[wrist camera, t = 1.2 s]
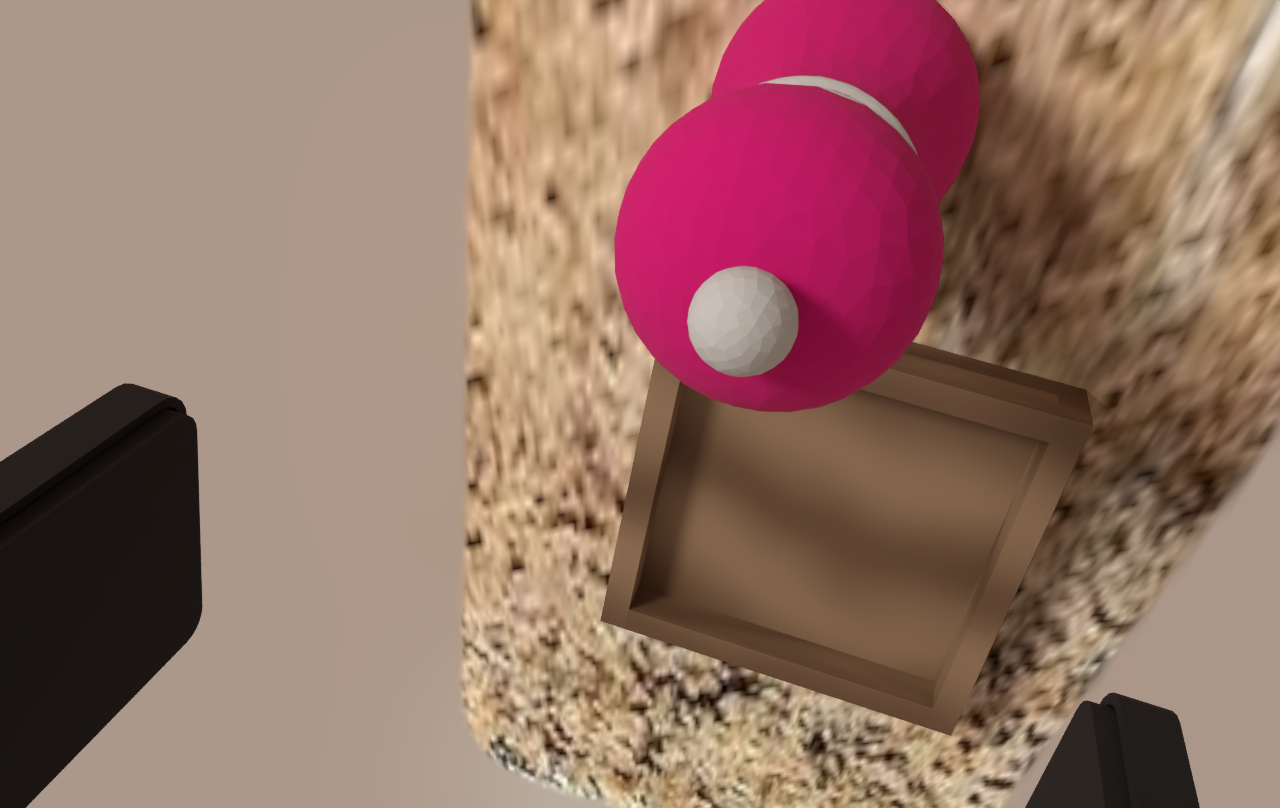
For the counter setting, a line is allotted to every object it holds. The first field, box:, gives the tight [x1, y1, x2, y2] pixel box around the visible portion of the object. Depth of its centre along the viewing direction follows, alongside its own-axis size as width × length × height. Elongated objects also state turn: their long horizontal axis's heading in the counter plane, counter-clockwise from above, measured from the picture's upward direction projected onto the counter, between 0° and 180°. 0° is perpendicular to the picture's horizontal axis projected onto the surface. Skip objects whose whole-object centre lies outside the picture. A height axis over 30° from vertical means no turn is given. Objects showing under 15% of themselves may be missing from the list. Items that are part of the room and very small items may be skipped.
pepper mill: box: [615, 0, 980, 412], centre depth 25 cm, size 7×7×20 cm
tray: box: [601, 342, 1093, 736], centre depth 40 cm, size 14×14×2 cm
